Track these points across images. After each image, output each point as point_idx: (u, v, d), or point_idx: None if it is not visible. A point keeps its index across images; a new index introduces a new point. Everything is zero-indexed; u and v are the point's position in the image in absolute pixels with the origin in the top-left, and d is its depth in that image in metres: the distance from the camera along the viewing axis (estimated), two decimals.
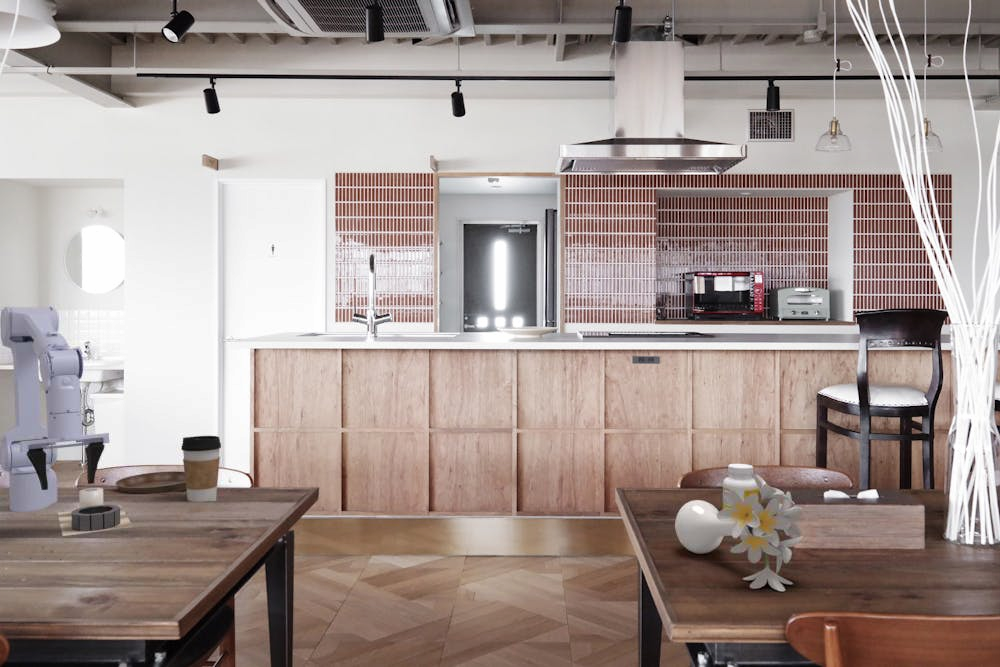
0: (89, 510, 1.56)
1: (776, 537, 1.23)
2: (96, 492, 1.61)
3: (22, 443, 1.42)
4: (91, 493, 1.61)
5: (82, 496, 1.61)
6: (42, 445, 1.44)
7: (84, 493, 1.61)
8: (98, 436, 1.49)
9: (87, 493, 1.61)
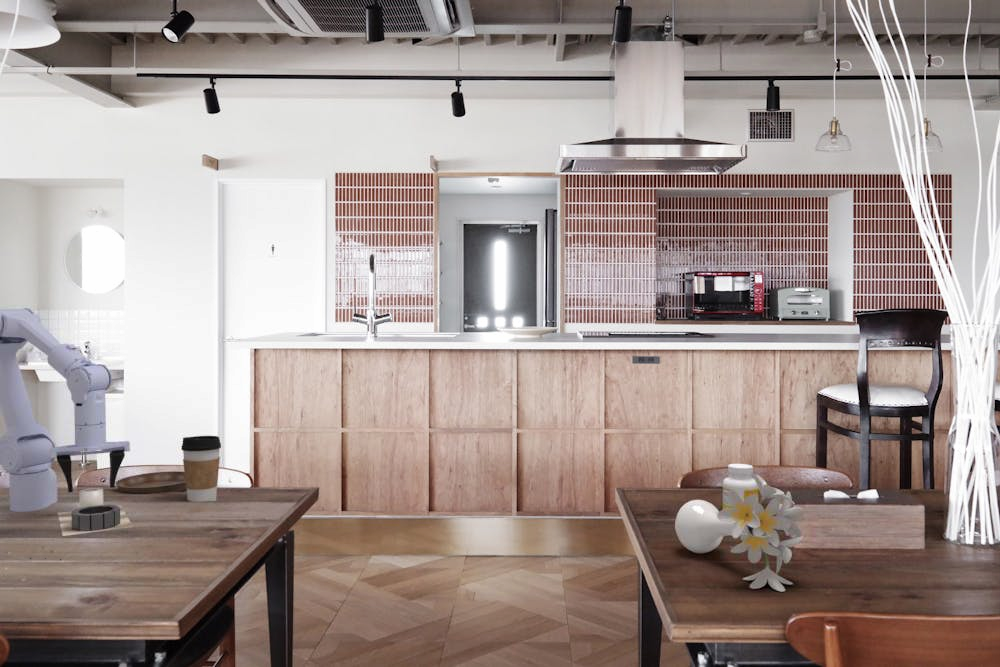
0: (89, 510, 1.56)
1: (776, 537, 1.23)
2: (96, 492, 1.61)
3: (51, 450, 1.58)
4: (91, 493, 1.61)
5: (82, 496, 1.61)
6: (69, 452, 1.60)
7: (84, 493, 1.61)
8: (120, 445, 1.64)
9: (87, 493, 1.61)
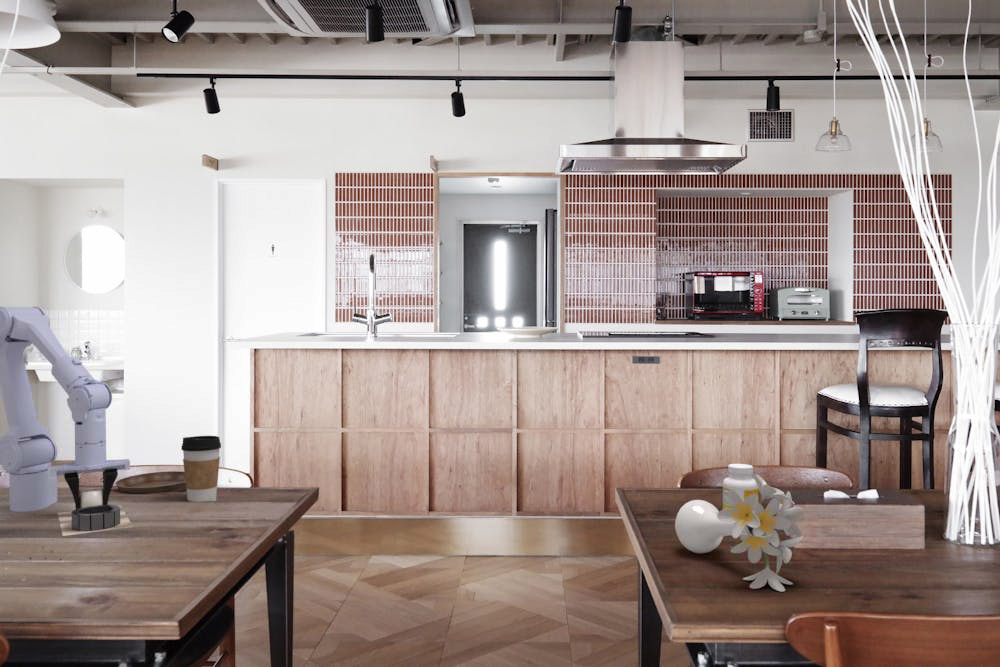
0: (89, 510, 1.56)
1: (776, 537, 1.23)
2: (96, 492, 1.61)
3: (51, 469, 1.58)
4: (91, 493, 1.61)
5: (82, 496, 1.61)
6: (69, 470, 1.60)
7: (84, 493, 1.61)
8: (120, 463, 1.64)
9: (87, 493, 1.61)
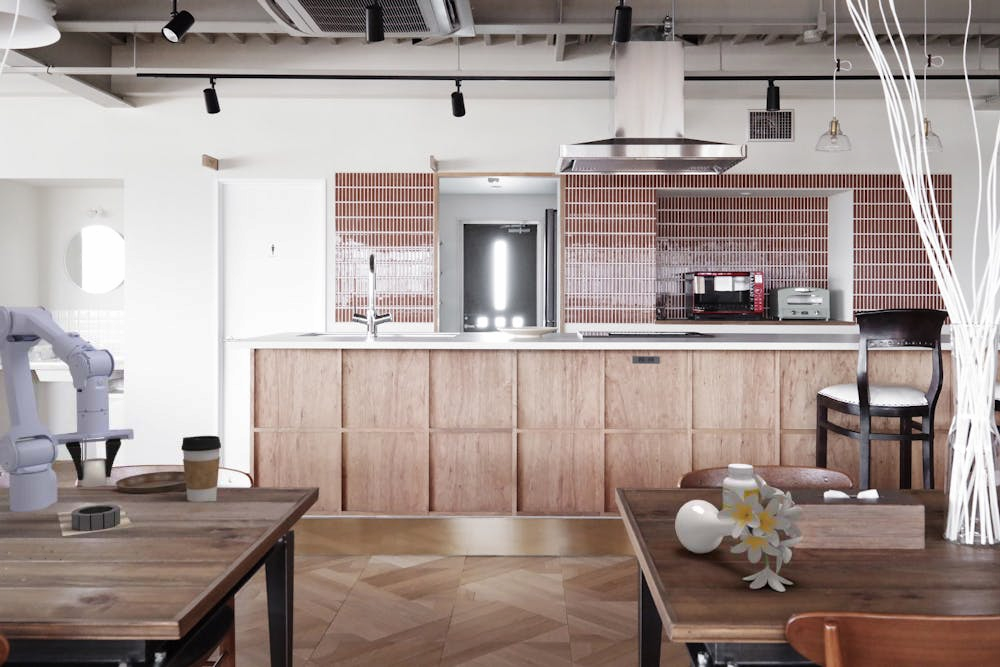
0: (89, 510, 1.56)
1: (776, 537, 1.23)
2: (99, 462, 1.56)
3: (53, 438, 1.53)
4: (94, 463, 1.56)
5: (85, 466, 1.56)
6: (71, 439, 1.55)
7: (86, 463, 1.56)
8: (123, 433, 1.59)
9: (90, 463, 1.56)
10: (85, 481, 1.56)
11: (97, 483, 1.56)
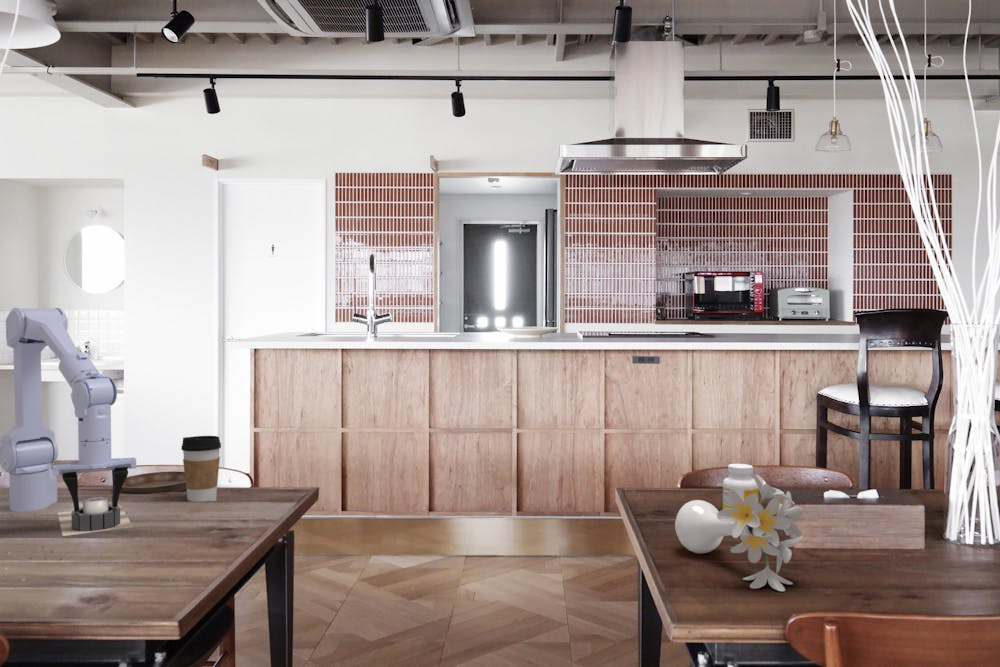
0: None
1: (776, 537, 1.23)
2: (101, 502, 1.53)
3: (54, 468, 1.49)
4: (96, 503, 1.52)
5: (86, 506, 1.52)
6: (73, 469, 1.52)
7: (88, 503, 1.52)
8: (126, 462, 1.56)
9: (91, 503, 1.52)
10: None
11: None
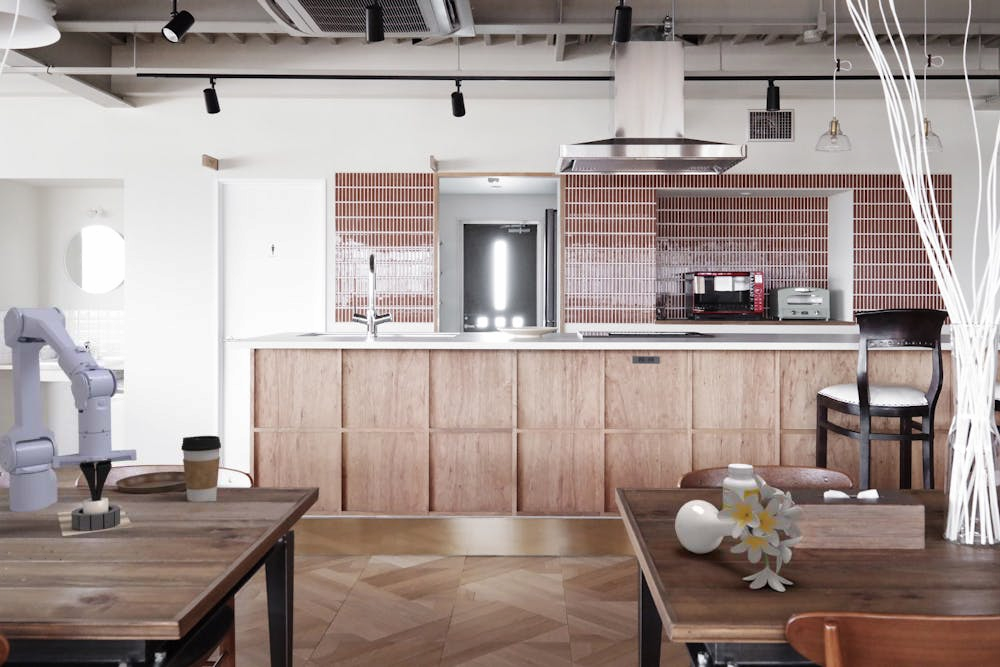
0: None
1: (776, 537, 1.23)
2: (101, 502, 1.53)
3: (54, 460, 1.49)
4: (96, 503, 1.52)
5: (86, 506, 1.52)
6: (73, 461, 1.52)
7: (88, 503, 1.52)
8: (126, 454, 1.56)
9: (91, 503, 1.52)
10: None
11: None
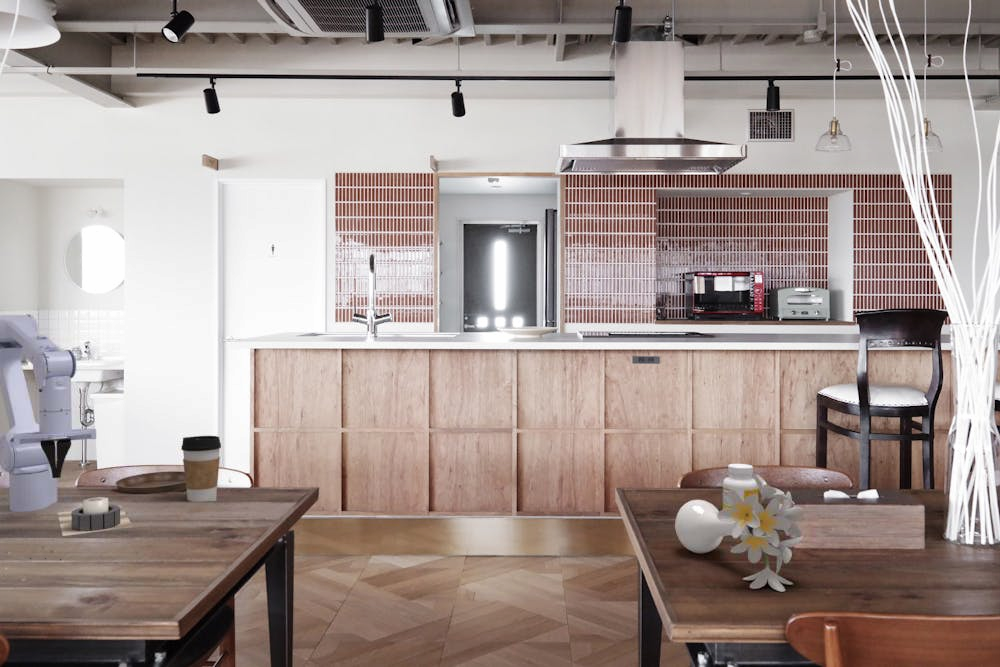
0: None
1: (776, 537, 1.23)
2: (101, 502, 1.53)
3: (14, 437, 1.55)
4: (96, 503, 1.52)
5: (86, 506, 1.52)
6: (33, 439, 1.57)
7: (88, 503, 1.52)
8: (85, 433, 1.61)
9: (91, 503, 1.52)
10: None
11: None
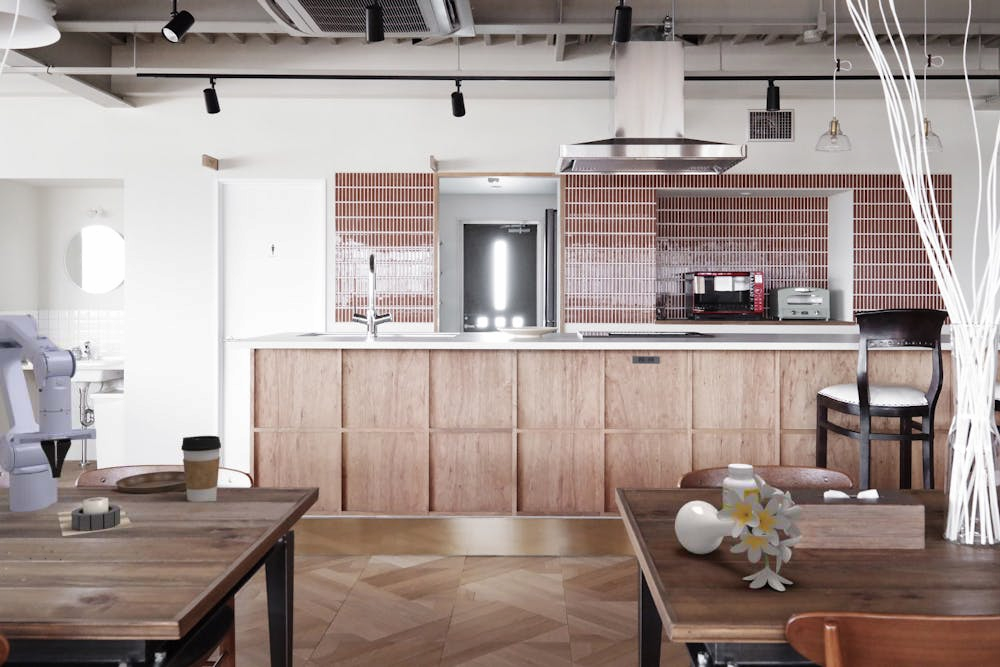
0: None
1: (776, 537, 1.23)
2: (101, 502, 1.53)
3: (14, 437, 1.55)
4: (96, 503, 1.52)
5: (86, 506, 1.52)
6: (33, 439, 1.57)
7: (88, 503, 1.52)
8: (85, 433, 1.61)
9: (91, 503, 1.52)
10: None
11: None
